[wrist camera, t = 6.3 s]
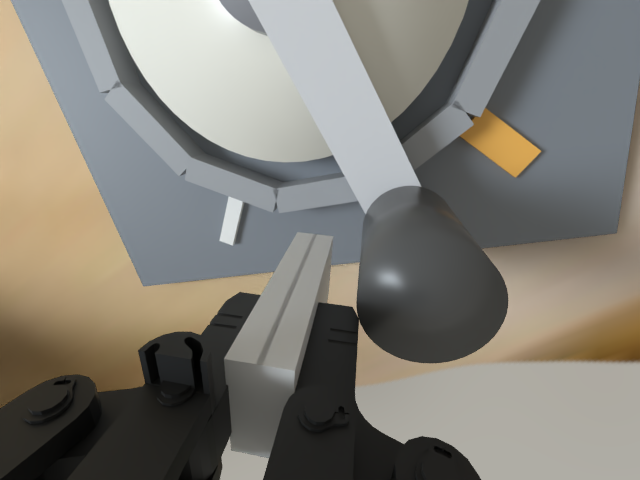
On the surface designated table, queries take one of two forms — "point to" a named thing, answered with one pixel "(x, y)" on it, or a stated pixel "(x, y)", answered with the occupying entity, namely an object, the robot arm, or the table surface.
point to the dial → (335, 137)
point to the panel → (325, 174)
